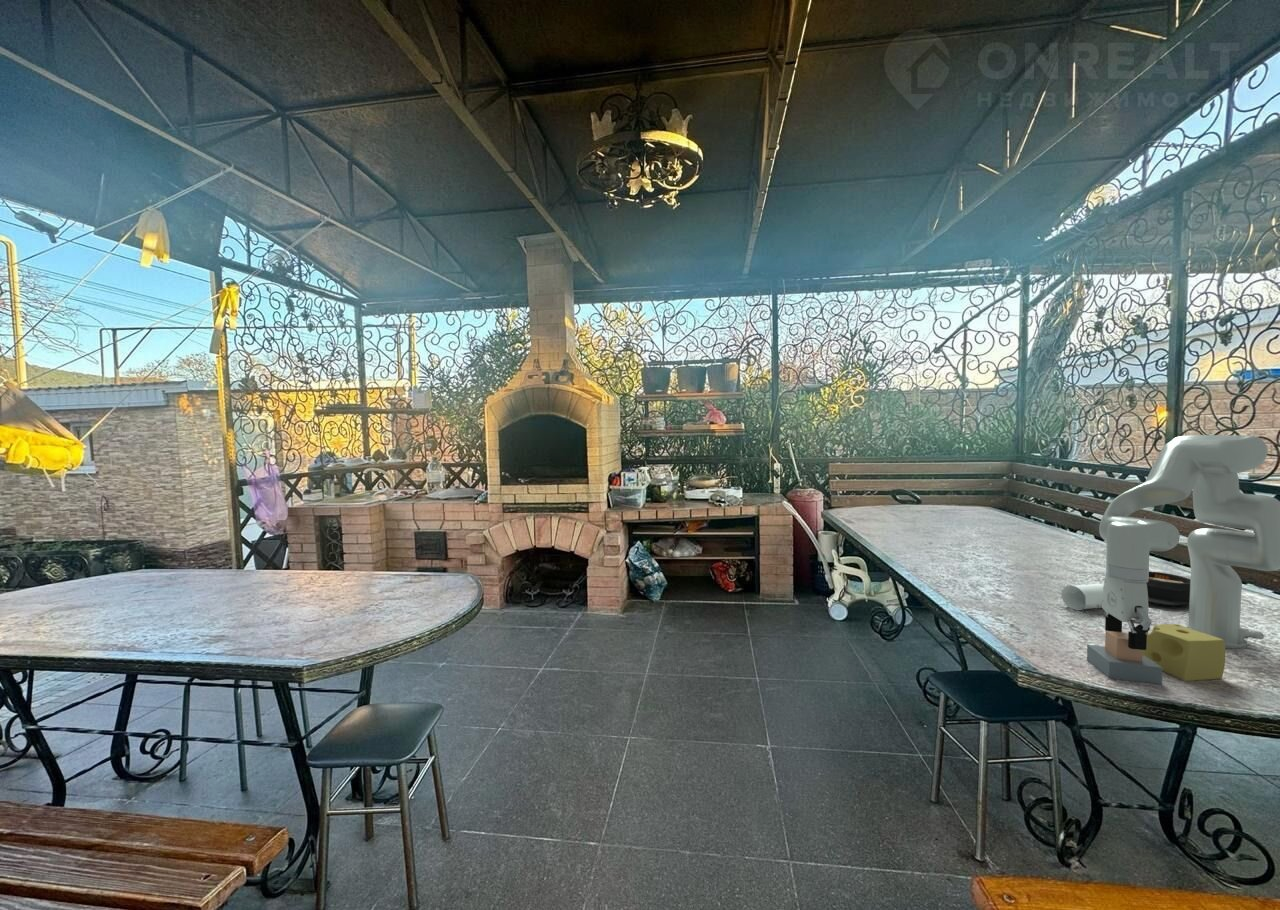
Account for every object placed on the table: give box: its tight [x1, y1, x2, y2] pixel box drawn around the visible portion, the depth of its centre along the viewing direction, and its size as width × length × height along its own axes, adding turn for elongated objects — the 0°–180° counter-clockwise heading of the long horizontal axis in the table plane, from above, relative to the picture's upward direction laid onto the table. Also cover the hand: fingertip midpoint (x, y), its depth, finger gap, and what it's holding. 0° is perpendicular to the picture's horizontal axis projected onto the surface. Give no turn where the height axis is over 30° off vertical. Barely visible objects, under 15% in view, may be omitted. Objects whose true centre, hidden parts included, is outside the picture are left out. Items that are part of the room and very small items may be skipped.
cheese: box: [1143, 623, 1226, 682], centre depth 123 cm, size 10×11×10 cm
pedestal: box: [1086, 644, 1163, 685], centre depth 123 cm, size 10×10×4 cm
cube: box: [1104, 631, 1143, 661], centre depth 123 cm, size 5×5×5 cm
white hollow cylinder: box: [1060, 583, 1104, 611], centre depth 167 cm, size 8×19×8 cm, turn 98°
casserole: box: [1146, 570, 1191, 607], centre depth 173 cm, size 25×19×8 cm
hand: (1124, 640), depth 123 cm, fingers open, 9 cm apart
